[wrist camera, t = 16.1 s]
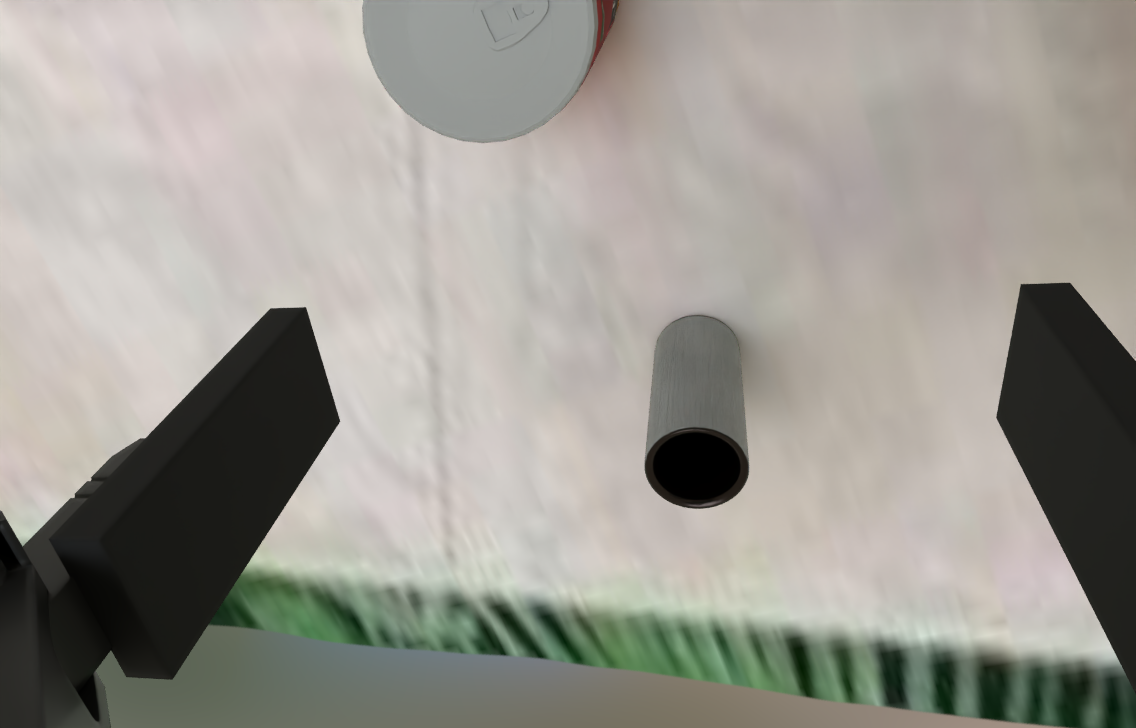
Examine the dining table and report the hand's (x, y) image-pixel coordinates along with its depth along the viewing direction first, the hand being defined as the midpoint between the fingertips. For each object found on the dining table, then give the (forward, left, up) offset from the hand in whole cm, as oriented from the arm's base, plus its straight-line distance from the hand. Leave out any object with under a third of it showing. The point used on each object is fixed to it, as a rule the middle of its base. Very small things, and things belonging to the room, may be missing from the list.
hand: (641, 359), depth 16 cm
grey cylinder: (0, +15, -26) cm, 30 cm away
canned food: (+6, -4, -26) cm, 27 cm away
